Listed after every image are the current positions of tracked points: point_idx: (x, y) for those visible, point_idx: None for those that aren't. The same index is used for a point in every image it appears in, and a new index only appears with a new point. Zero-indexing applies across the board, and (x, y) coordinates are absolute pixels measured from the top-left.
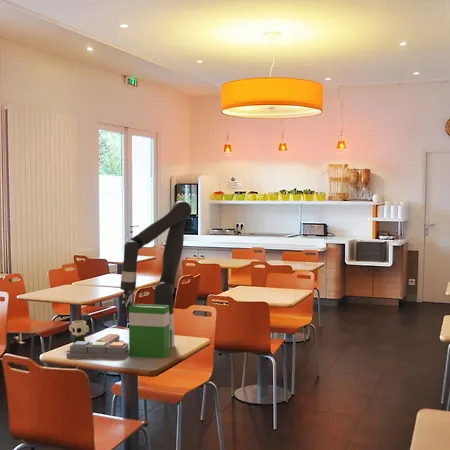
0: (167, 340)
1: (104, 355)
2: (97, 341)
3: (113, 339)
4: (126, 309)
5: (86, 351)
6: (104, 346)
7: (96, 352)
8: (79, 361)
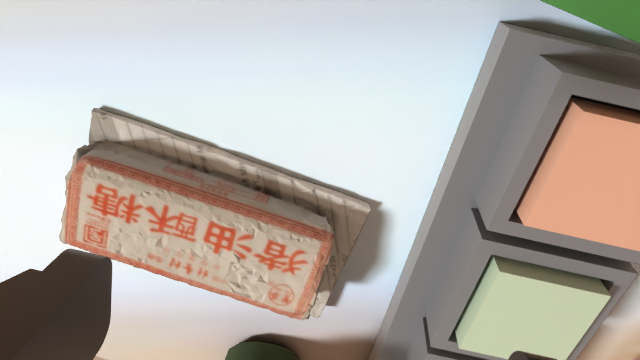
0: None
1: None
2: (310, 310)
3: (220, 203)
4: (93, 347)
5: None
6: (608, 280)
7: None
8: (629, 352)
